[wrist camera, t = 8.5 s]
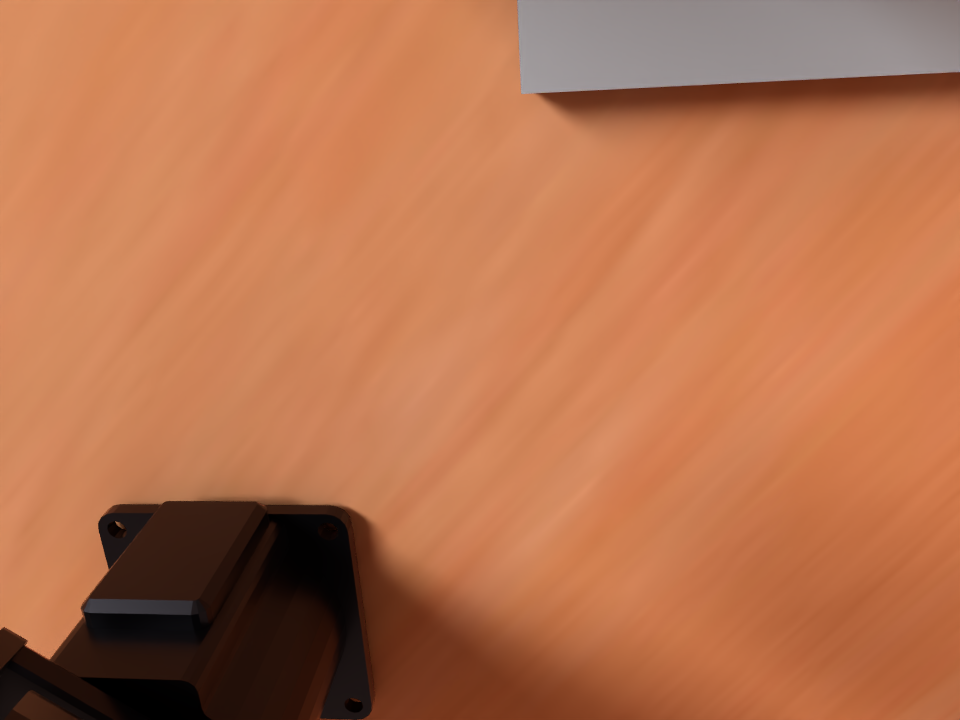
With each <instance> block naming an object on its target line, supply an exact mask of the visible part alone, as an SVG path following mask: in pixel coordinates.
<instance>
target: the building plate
mask: <svg viewBox="0 0 960 720" xmlns="http://www.w3.org/2000/svg"><path fill="white" fill-rule="evenodd" d="M517 5H518V29H519V52H520V76H521V94H529V93H549V92H569V91H589V90H609V89H629V88H649V87H669V86H689V85H709V84H729V83H748V82H768V81H788V80H808V79H828V78H848V77H868V76H888V75H908V74H928V73H948V72H960V0H517Z"/></svg>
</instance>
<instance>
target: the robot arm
mask: <svg viewBox="0 0 960 720" xmlns="http://www.w3.org/2000/svg"><path fill="white" fill-rule="evenodd" d="M115 521H117V522H120V523H122V524H123V525H124V526H125V528H126V529H127V530H125V529H121V528H120V527H119V526H117V524H116V522H115ZM323 523H330V524H333V525H334V526H335V527H337V530H338V531H334V532H333V531H329V530H327V529H326V528H325V527H324V525H323ZM98 529H99V533H100V537H101V541H102V545H103V549H104V553H105V557H106V560H107V564H108V568H109V571H108V572H107V573H106V575H105V576H104V577H103V578H102V580H101V581H100V582H99V583H98V585H97V586H96V587H95V588H94V590H93V591H92V592H91V593H90V595H89V596H88V597H87V599H86V600H85V601H84V602H83V604H82V606H81V610H82V614H83V617H82V619H81V620H80V621H79V623H78V624H77V625H76V626H75V628H74V629H73V630H72V631H71V633H70V634H69V635H68V637H67V638H66V639H65V640H64V642H63V643H62V644H61V646H60V647H59V648H58V649H57V651H56V652H55V653H54V655H53V656H52V657H51V658H50V660H49V659H47V658H46V657H44V656H42V655H40V654H39V653H37V652H35V651H34V650H32V649H30V648H28V647H27V646H25V645H26V643H27V642H28V641H27V640H26V639H24V638H22V637H20V636H19V635H17V634H15V633H14V632H12V631H10V630H8V629H7V628H5V627H4V628H2V629H1V630H0V720H319V719H320V718H322V719H351V720H357V719H363V718H365V717H367V716H368V715H369V714H370V712H371V710H372V707H373V704H374V700H375V691H374V684H373V677H372V669H371V662H370V654H369V647H368V639H367V632H366V624H365V617H364V610H363V602H362V595H361V587H360V580H359V572H358V565H357V558H356V550H355V543H354V535H353V528H352V522H351V519H350V516H349V515H348V514H347V513H346V512H345V511H344V510H342V509H340V508H339V507H335V506H326V505H262V504H260V503H258V502H220V501H167V502H164V503H163V504H162V505H130V504H120V505H115V506H112V507H111V508H110V509H108V510H107V512H106V513H105V514H104V515H103V516H102V517H101V519H100V521H99V523H98ZM350 698H356V699H358V700H360V701H361V702H356V701H353V700H352V699H350Z"/></svg>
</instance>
